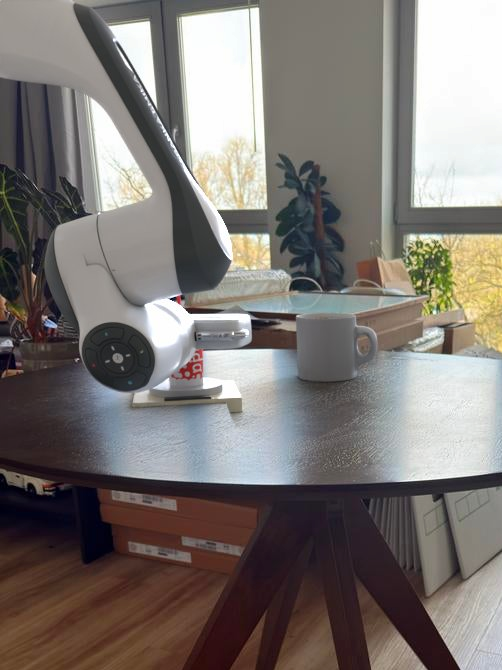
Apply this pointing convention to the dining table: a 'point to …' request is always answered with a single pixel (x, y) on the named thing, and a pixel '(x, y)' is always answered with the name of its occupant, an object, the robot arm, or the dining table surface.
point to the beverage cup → (189, 369)
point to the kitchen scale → (191, 394)
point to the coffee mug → (331, 346)
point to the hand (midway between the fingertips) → (182, 324)
